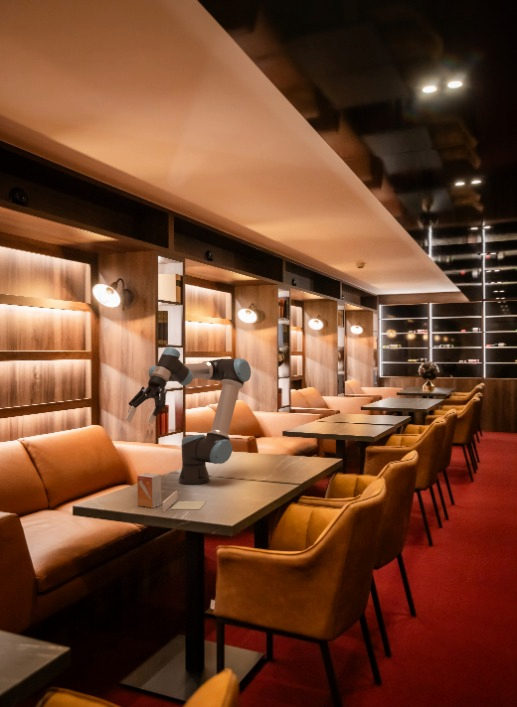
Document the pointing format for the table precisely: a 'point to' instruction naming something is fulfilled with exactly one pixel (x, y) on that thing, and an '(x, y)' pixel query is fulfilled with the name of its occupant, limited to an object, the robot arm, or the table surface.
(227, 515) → the table surface
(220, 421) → the robot arm
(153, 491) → the small box
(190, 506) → the mat
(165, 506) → the fence
